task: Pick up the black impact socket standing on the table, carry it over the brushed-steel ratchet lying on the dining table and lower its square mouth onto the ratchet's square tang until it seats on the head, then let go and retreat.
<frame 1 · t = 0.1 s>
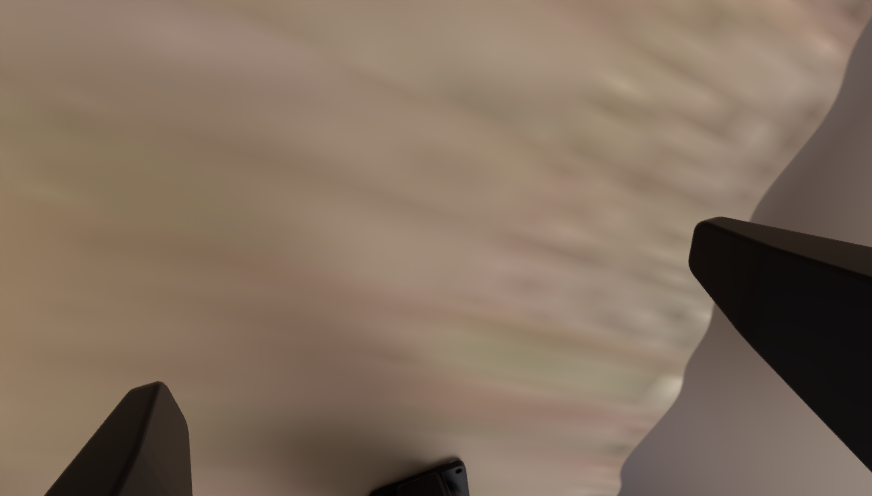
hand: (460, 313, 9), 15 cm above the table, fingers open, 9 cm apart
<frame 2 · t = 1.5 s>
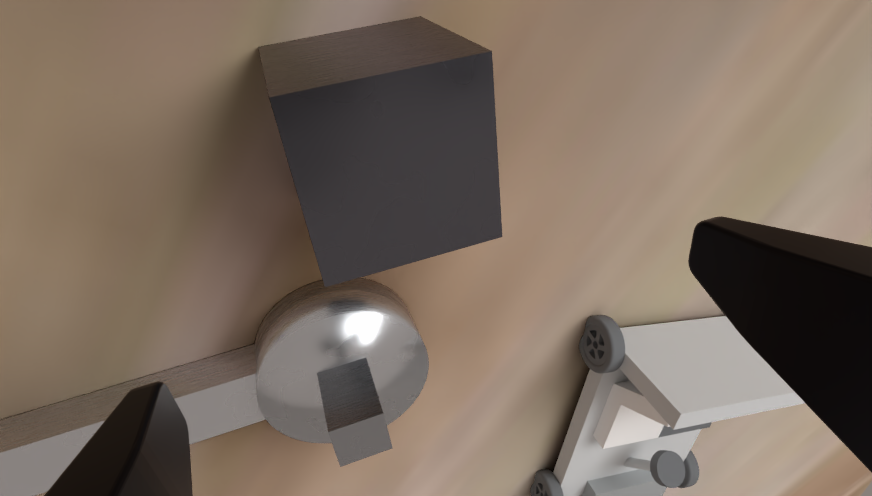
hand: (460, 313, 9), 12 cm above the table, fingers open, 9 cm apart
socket: (358, 111, 19), on the table
toy car: (622, 407, 35), on the table
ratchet: (337, 343, 24), on the table
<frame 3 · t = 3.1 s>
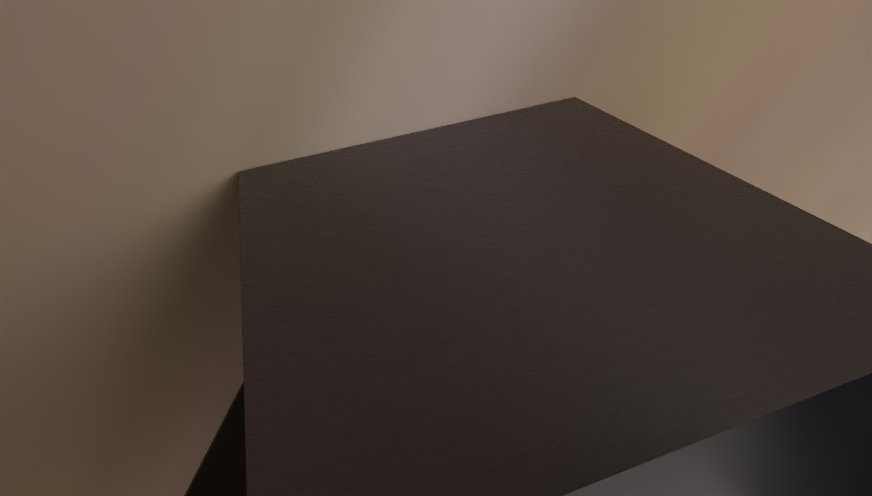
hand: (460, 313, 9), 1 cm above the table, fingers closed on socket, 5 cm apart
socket: (436, 273, 10), on the table, touching gripper
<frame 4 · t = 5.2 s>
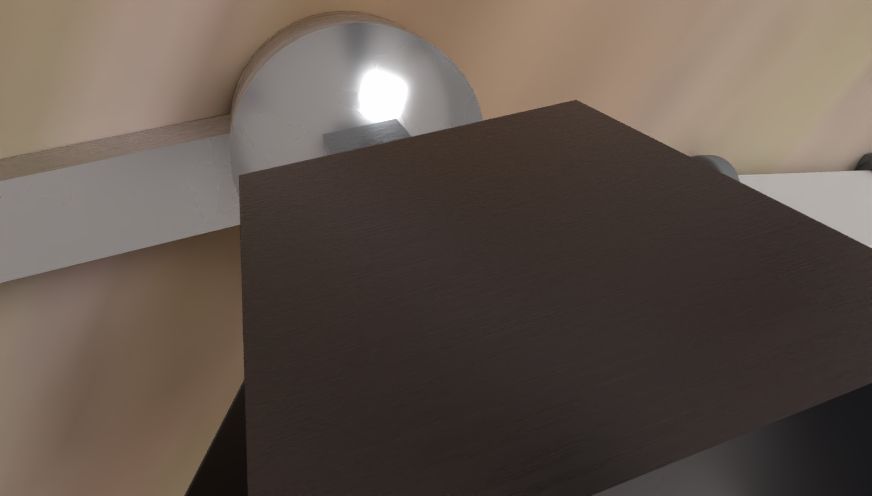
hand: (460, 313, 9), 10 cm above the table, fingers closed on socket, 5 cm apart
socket: (437, 276, 10), point 9 cm above the table, touching gripper
toy car: (709, 306, 28), on the table
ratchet: (349, 132, 17), on the table
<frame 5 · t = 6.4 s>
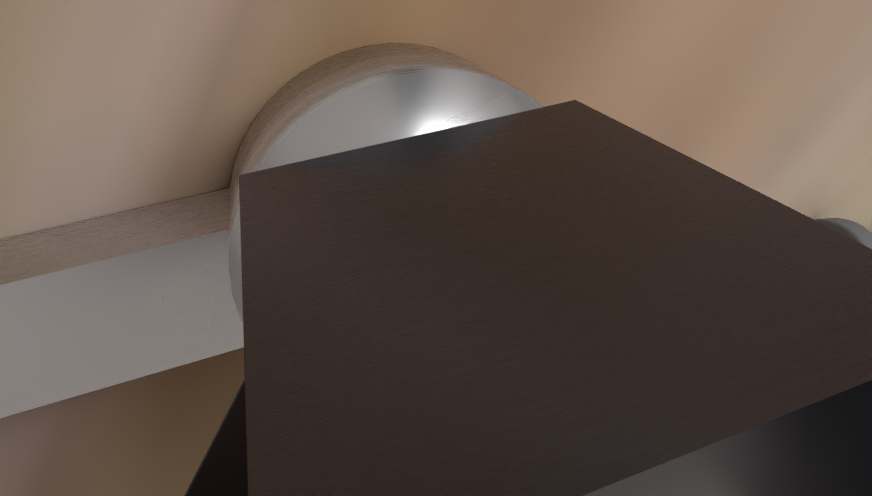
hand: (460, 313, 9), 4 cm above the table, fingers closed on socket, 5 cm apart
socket: (437, 276, 10), point 3 cm above the table, touching gripper
toy car: (803, 377, 24), on the table
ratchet: (394, 205, 12), on the table
when the fingers open (4 cm above the table, at t = 7.2 s): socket stays where it is, resting on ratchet.
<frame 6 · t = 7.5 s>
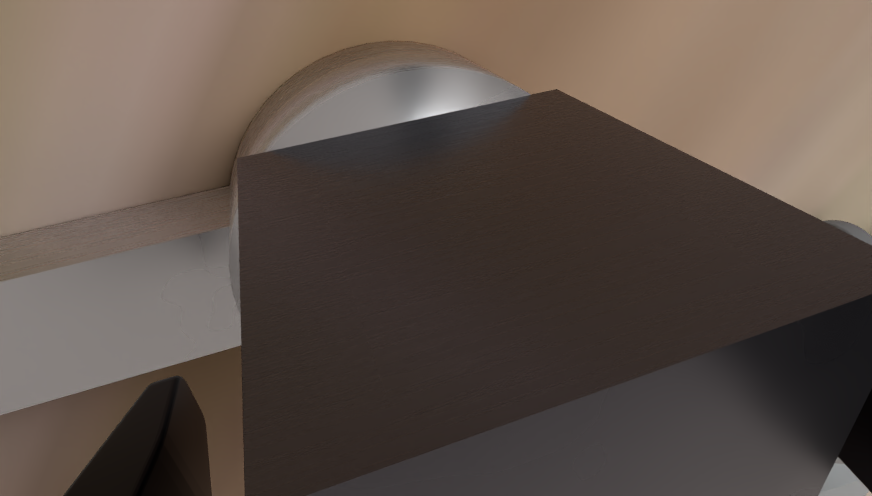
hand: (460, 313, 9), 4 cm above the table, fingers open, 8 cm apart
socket: (426, 258, 10), point 2 cm above the table, touching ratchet
toy car: (805, 376, 24), on the table
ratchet: (393, 203, 12), on the table
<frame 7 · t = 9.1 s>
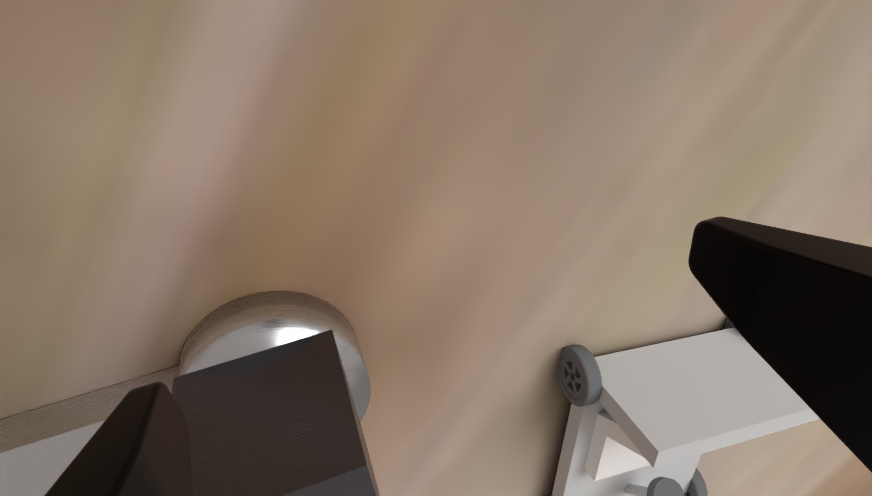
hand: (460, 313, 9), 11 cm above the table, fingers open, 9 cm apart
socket: (277, 406, 20), point 2 cm above the table, touching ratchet
toy car: (618, 431, 33), on the table
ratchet: (273, 363, 22), on the table
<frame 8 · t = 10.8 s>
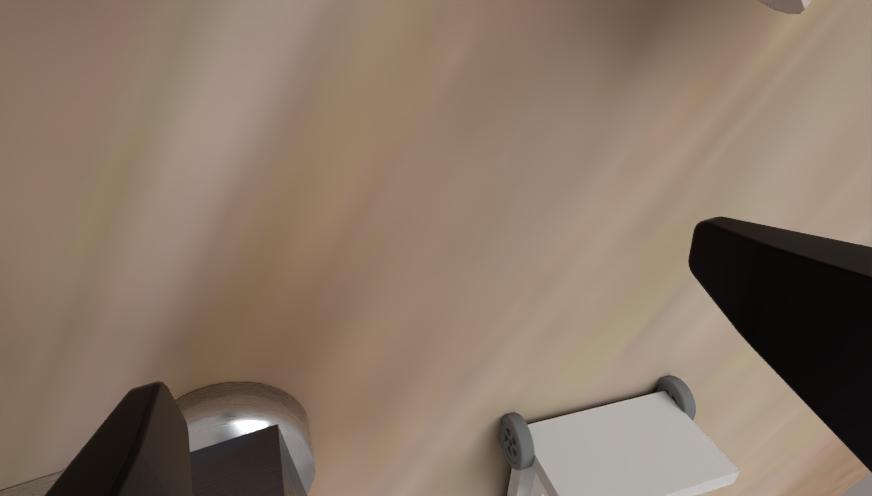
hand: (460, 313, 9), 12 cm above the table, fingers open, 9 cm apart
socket: (230, 486, 22), point 2 cm above the table, touching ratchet
toy car: (562, 477, 36), on the table
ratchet: (230, 439, 24), on the table
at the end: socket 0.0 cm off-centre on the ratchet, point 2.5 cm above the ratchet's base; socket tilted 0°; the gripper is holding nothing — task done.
